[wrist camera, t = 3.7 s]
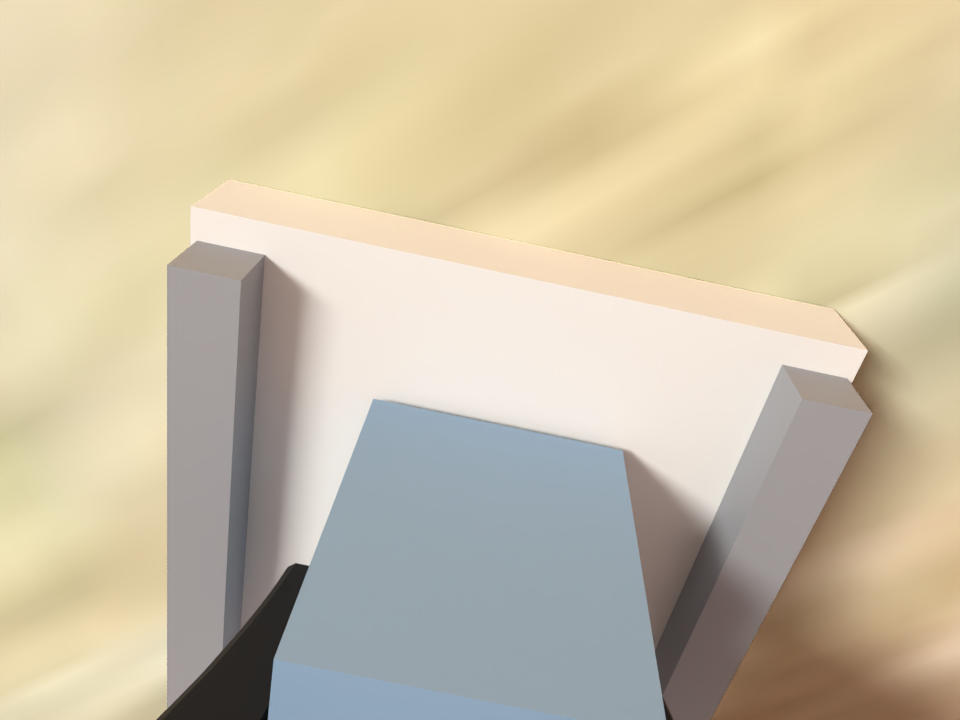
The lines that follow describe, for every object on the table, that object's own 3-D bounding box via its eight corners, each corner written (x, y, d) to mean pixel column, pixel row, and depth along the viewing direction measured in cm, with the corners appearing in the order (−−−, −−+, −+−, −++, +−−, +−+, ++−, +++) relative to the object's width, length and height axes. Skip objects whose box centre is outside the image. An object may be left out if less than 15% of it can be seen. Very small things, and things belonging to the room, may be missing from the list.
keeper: (622, 450, 12) (668, 736, 8) (535, 697, 15) (532, 1010, 10) (373, 398, 12) (273, 658, 7) (333, 657, 15) (244, 957, 10)
